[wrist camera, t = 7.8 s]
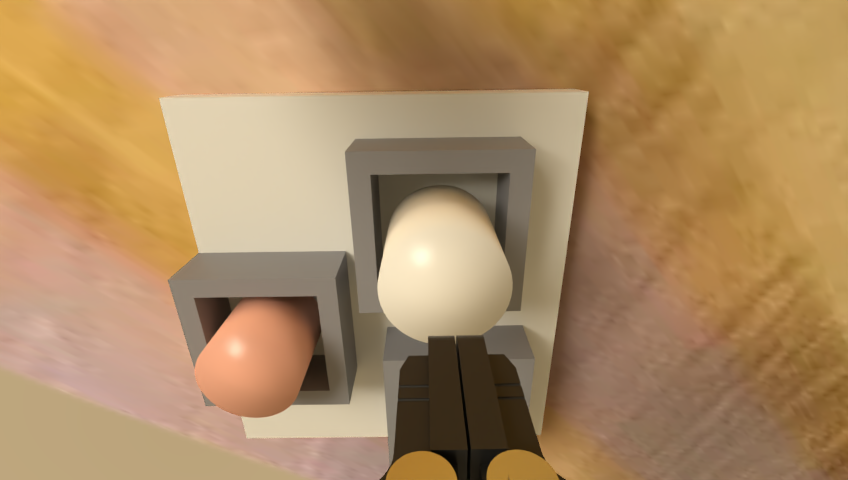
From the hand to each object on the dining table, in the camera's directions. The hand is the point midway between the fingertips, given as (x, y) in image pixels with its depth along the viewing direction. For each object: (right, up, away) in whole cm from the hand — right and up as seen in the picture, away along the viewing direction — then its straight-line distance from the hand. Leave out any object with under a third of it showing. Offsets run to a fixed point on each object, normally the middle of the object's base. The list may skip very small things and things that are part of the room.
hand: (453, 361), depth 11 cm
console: (-3, +1, +14) cm, 14 cm away
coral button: (-9, -1, +12) cm, 15 cm away
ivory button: (0, +4, +8) cm, 9 cm away
